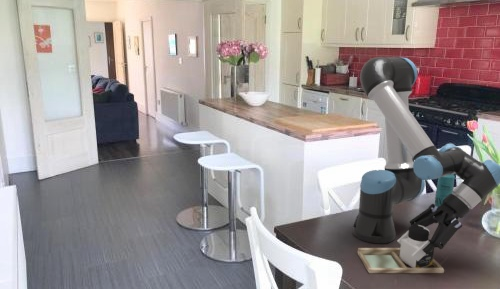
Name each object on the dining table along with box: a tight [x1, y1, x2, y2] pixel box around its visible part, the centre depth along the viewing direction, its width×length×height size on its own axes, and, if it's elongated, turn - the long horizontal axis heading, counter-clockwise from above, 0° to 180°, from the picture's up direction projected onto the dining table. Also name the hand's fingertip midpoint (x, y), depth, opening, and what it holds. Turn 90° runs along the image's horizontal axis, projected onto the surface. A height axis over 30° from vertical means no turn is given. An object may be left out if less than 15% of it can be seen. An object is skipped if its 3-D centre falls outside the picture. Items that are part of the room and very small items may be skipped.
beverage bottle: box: [433, 174, 456, 207], centre depth 168 cm, size 6×7×20 cm
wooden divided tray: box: [357, 247, 445, 274], centre depth 127 cm, size 23×12×2 cm, turn 91°
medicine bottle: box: [398, 225, 435, 268], centre depth 126 cm, size 7×7×12 cm
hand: (407, 250), depth 126 cm, fingers closed on medicine bottle, 8 cm apart
